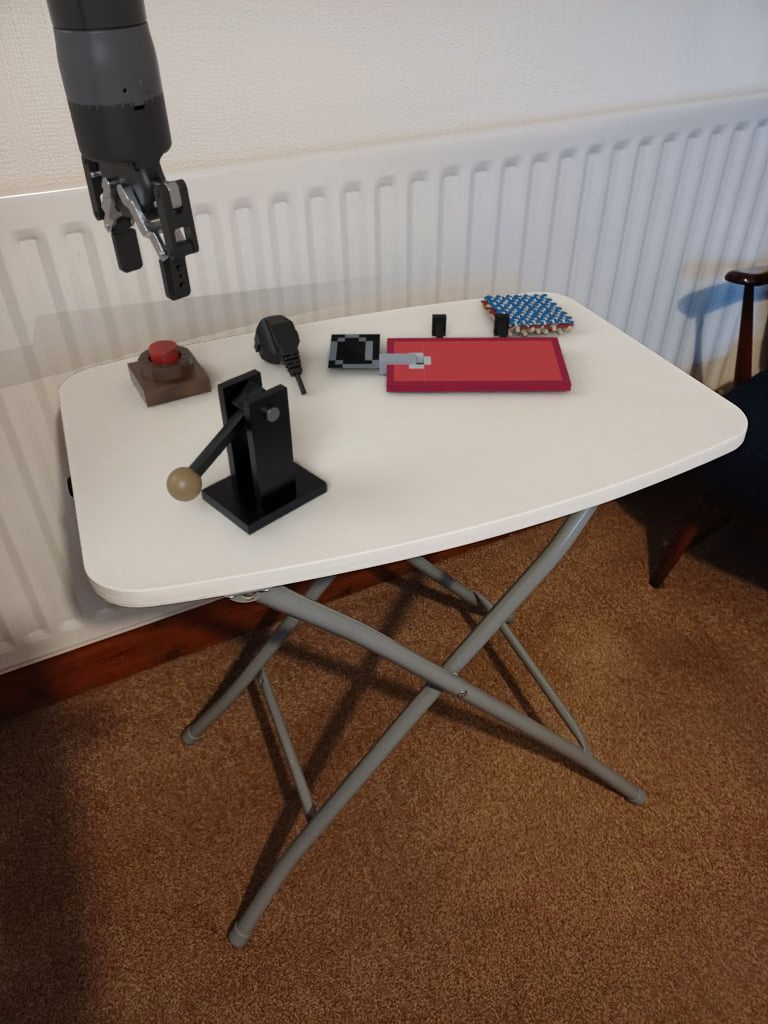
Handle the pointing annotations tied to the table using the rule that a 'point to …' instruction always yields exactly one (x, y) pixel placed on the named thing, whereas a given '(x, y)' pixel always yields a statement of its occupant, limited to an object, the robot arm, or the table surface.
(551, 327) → the woven mat
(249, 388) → the switch lever
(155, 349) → the button
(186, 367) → the button block
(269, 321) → the power plug
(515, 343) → the red board with handle
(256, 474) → the switch bracket
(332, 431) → the table surface
